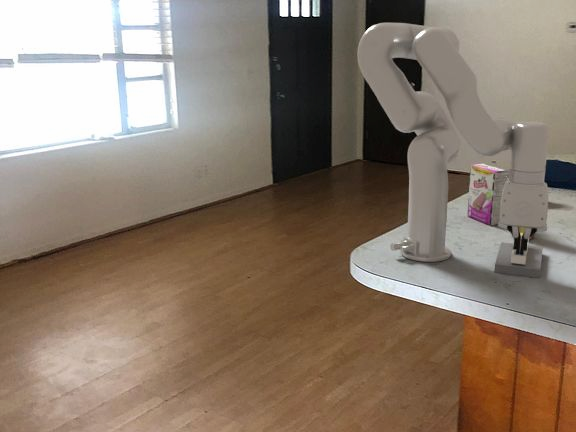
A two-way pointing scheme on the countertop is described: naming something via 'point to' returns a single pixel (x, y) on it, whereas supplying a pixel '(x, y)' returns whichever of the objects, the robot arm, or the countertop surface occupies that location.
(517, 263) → the key blue
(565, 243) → the countertop surface
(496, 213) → the candy bar box
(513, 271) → the keypad board
